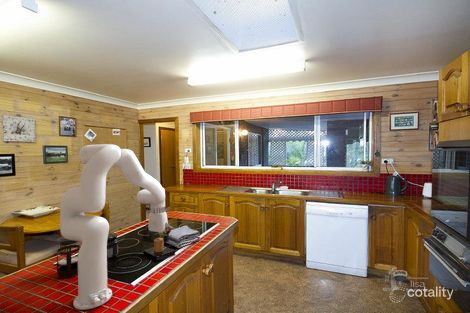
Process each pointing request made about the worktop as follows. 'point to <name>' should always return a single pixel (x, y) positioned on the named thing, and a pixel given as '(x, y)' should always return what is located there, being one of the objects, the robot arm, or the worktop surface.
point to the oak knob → (158, 245)
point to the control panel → (158, 253)
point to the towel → (183, 236)
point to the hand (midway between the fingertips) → (159, 241)
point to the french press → (67, 259)
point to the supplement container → (112, 246)
